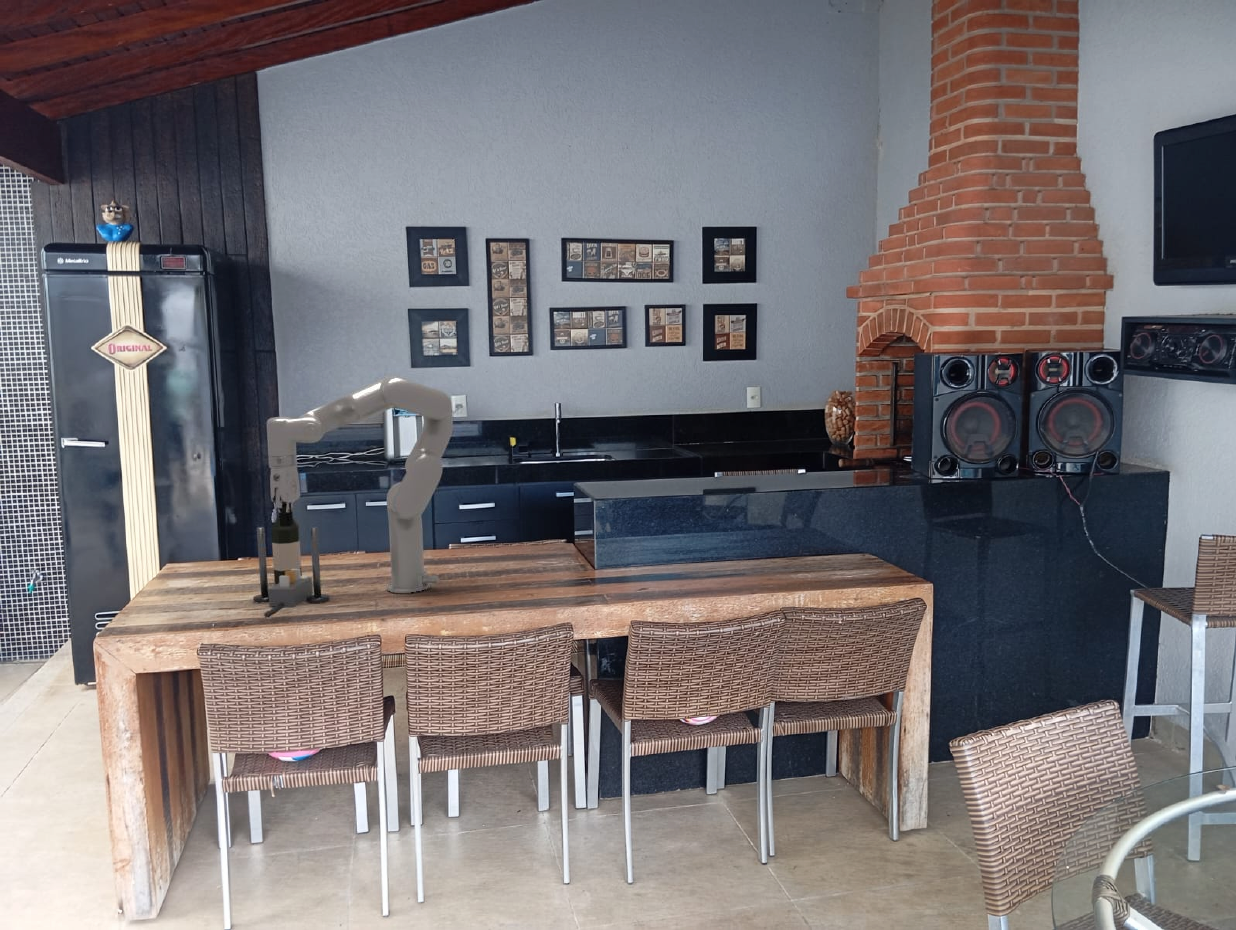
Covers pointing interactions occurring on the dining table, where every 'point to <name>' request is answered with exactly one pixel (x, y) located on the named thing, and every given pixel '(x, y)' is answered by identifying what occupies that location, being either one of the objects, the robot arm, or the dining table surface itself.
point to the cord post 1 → (262, 567)
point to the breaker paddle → (290, 576)
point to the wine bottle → (285, 548)
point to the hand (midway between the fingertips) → (286, 525)
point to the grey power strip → (289, 592)
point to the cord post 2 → (316, 570)
